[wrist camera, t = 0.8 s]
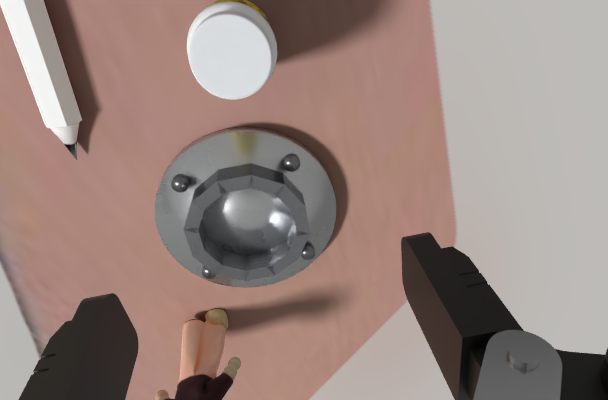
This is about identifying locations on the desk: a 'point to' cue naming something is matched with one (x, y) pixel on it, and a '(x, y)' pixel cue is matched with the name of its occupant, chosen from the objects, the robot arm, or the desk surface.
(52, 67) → the white pencil
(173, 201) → the hub plate
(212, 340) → the grandmother figurine
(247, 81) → the supplement bottle
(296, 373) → the desk surface
